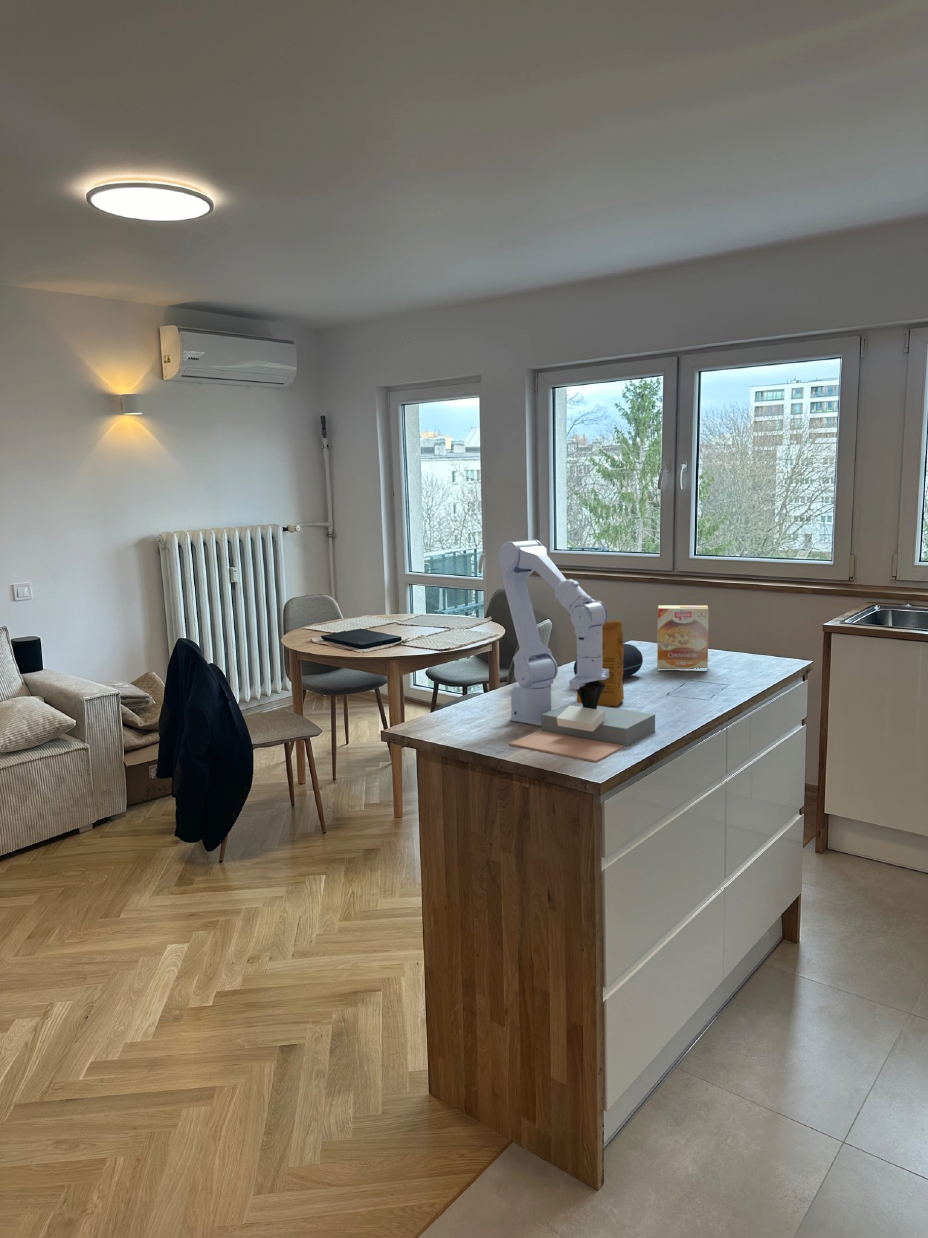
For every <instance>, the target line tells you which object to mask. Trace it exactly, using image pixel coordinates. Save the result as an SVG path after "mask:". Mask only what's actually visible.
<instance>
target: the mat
mask: <svg viewBox="0 0 928 1238" xmlns="http://www.w3.org/2000/svg"><path fill="white" fill-rule="evenodd" d="M508 745H509V746H512V745H513V746H514V747H517V746H519V747H518V748H523V749H528V750H534V751H538V752H544V753H546V754H547V753H549V754H552V755H559V756H562V757H563V756H564V757H569V758H573V759H579V760H583V761H589V762H592V763H593V762H594V763H597V762H600V761H602V760H604V759H605V758H607V757H609V756H611V755H613V754H615V753H616V752H618V751H620V750H623V749H624V748H625V746H622V745H617V744H611V743H606V742H600V741H595V740H589V739H584V738H578V737H573V736H567V735H562V734H556V733H551V732H545V731H542V730H537V731H535V732H533V733H532V732H531V733H530V734H528V735H525V736H523V737H520V738H518V739H515V740H514V741H511V742H509V743H508Z"/></svg>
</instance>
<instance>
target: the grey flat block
mask: <svg viewBox="0 0 928 1238" xmlns="http://www.w3.org/2000/svg"><path fill="white" fill-rule="evenodd" d="M570 705H571V706H577V707H583V705H582V703H577V701H576V702H575V701H572V702H568V703H566V704H564V705H562V706H558V707H557V708H554V709H551V711H549V712H546V713H544V714H541V726H540V727H541V731H545V732H551V733H556V734H562V735H567V736H573V737H578V738H584V739H589V740H595V741H600V742H606V743H611V744H617V745H622V746H624V747H628V746H630V745H632V744H634V743H636V742H638V741H639V740H641V739H643V738H645V737H648V735H651V734H653V733H654V732H656V714H655V713H648V712H642V711H634V710H628V709H622V708H615V707H611V706H597V710H604V711H605V717H606V719H605V720H604V721H603V722H602V723H601V724H600V725H599V726H598V727H597V728H596V729H595V730H594V731H593V732H592V731H586V730H580V729H574V728H568V727H563V726H558V724H557V717H558V716H559V715H560V714H561V713H562V712H563V711H564V710H565V709H566V708H567V707H569V706H570Z"/></svg>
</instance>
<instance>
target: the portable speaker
mask: <svg viewBox="0 0 928 1238" xmlns="http://www.w3.org/2000/svg"><path fill="white" fill-rule="evenodd" d="M623 646H624V656H623V677H622V679H624V678H625V679H626V678H628V677H632V676H633V675H634V674H636V673H637V672H639V670H641V668H642V665H643V661H644V659H643V654H642V652H641V651H640V649H638V648H637V647H636V646H635V645H634V644H633V645H632V644H630V643H623ZM573 673H574V676H575V675H576V674H577V658H576V659H575V661H574V664H573Z"/></svg>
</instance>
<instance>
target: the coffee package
mask: <svg viewBox="0 0 928 1238" xmlns="http://www.w3.org/2000/svg"><path fill="white" fill-rule="evenodd" d="M623 637H624V636H623V623H622V620H612V621H606V623H605V624H604V625H603V626H602V669H609V677H608V678H607V679H605V680H599V682H604V683H605V687H604V689H603V691H602V693H601V695H600V698H599V701H598V705H597V706H603V707H618V705H619V704H620V703H621V702H622V701H624V698H625V696H624V695H625V694H624V692H625V691H624V683H623V678H622V677H623V656H624V646H623V644H624V643H623V642H624V641H623V640H624V639H623ZM576 702H577V703H582V701H581V698H580V696H579V694H578V692H577V691H576Z"/></svg>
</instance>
